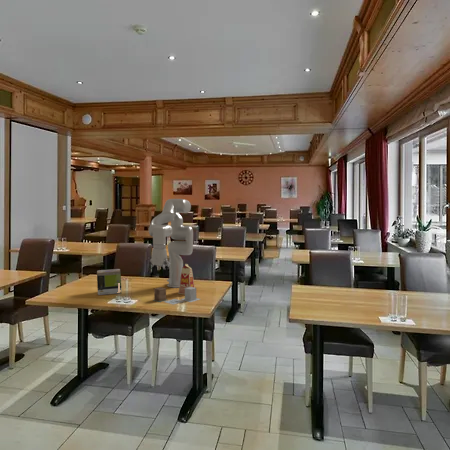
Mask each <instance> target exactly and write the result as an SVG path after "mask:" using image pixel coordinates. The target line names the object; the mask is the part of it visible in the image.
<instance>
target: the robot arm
mask: <svg viewBox="0 0 450 450" xmlns="http://www.w3.org/2000/svg"><path fill="white" fill-rule="evenodd" d="M191 204H192V203H191V202H190V201H189V200H188V199H183V198H169V199H167V200H166V201H165V203H164V206H163V209H162V212H161V213H159V214H158V215H156V216H155V217H154V218H153V219H152V220H151V221H150V224H149V228H148V234H149V236H151V237H152V247H153V248H152V250H151V258H150V259H149V262H150V265H151V268H152V274H153V275H155V274H158V267H162V269H163V270H162V276H163V277H167V276H168V275H169V277H168V279H166V282H168V283H167V287H168V288H174V289H175V288H177V289H178V288H179V287H180V277H181V272H182V268H183V267H184V260H183V259H182V256H191V255H192V254H193V250H194V230H193V227H192V226H190V225H184V219H183V217H182V215H181V214H188V213H190V211H191V208H192V205H191ZM167 223H170V224H167ZM168 237H170V238H171V239H173V240H174V241H173V240H172V241H170V242H169V243H168V244H167V240H166V238H168ZM175 240H177V241H175ZM178 240H179V241H178ZM180 240H183V241H180ZM184 240H185V241H184ZM167 251H168V252H167ZM168 259H169V260H168ZM168 270H169V271H168Z"/></svg>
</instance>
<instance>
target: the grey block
mask: <svg viewBox="0 0 450 450" xmlns="http://www.w3.org/2000/svg"><path fill="white" fill-rule="evenodd" d="M194 287H195V286H194ZM194 287H188V288H185V294H184V298H185V300H189V301H192V300H196V298H197V287H195V288H194Z"/></svg>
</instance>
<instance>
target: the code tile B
mask: <svg viewBox="0 0 450 450" xmlns="http://www.w3.org/2000/svg"><path fill="white" fill-rule="evenodd" d="M180 300H181V301H184V302H189V303H193V302H196V301H199V300H201V298H197V297H196V300H192V301H189V300H185V297H184V298H181V299H180Z"/></svg>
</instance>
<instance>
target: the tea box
mask: <svg viewBox="0 0 450 450" xmlns="http://www.w3.org/2000/svg"><path fill="white" fill-rule="evenodd" d="M121 273H122V272H121V269H120V268H115V269H114V268H113V269H101V270H100V269H99V270H97V271H96V285H97V286H96V287H97V295H98V296H102V295H113V294H114V295H115V294H116V295H117V294H118V293H117V292H118V283H120V290H121V292H122V275H121Z"/></svg>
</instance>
